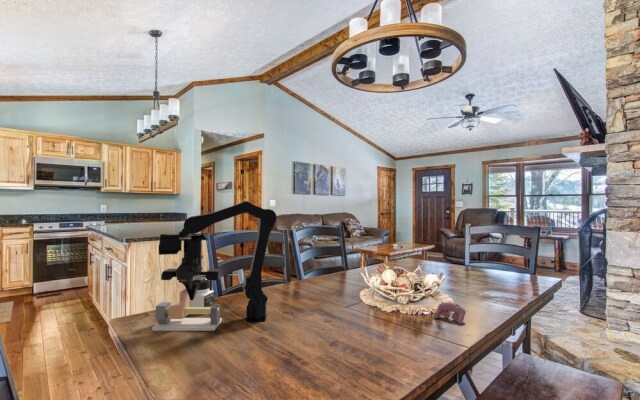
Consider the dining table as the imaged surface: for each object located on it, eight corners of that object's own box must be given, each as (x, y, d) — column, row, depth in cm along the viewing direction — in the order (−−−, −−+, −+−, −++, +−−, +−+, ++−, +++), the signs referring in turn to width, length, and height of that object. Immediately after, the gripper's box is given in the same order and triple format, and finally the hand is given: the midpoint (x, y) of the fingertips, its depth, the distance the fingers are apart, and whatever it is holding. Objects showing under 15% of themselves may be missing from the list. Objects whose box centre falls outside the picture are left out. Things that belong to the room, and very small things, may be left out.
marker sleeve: (189, 313, 115) (189, 287, 115) (182, 319, 109) (182, 292, 109) (177, 313, 115) (177, 287, 115) (170, 319, 109) (170, 292, 109)
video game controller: (465, 326, 117) (468, 307, 119) (460, 324, 114) (464, 303, 116) (437, 320, 123) (440, 301, 126) (432, 317, 120) (436, 298, 123)
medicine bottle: (204, 314, 123) (204, 282, 123) (186, 313, 124) (187, 281, 124) (214, 308, 130) (214, 278, 130) (197, 307, 131) (197, 277, 131)
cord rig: (222, 320, 117) (222, 300, 117) (214, 330, 108) (214, 308, 108) (164, 320, 116) (164, 300, 116) (152, 330, 107) (152, 308, 107)
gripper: (153, 257, 104) (152, 307, 104) (213, 257, 104) (212, 307, 104) (168, 252, 115) (168, 297, 115) (222, 252, 115) (222, 297, 115)
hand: (192, 299), depth 112 cm, fingers closed
